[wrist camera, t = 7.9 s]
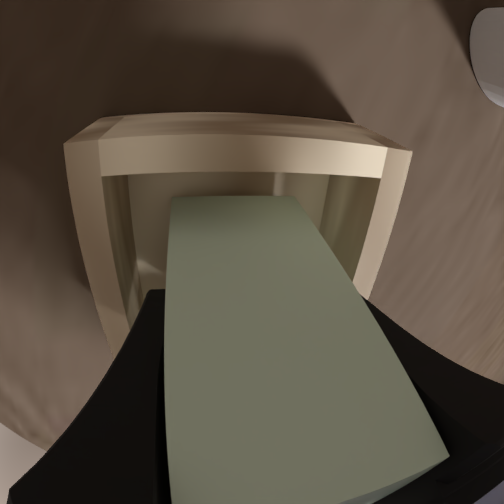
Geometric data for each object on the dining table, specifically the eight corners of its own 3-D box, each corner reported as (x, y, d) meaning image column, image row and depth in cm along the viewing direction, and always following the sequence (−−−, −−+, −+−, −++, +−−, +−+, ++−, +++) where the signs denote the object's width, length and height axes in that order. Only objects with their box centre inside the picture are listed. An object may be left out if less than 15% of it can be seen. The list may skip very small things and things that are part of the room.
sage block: (294, 195, 12) (449, 455, 4) (279, 288, 14) (359, 509, 6) (172, 197, 11) (174, 527, 3) (177, 293, 13) (197, 541, 5)
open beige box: (355, 123, 12) (412, 151, 9) (315, 307, 17) (341, 363, 14) (101, 117, 10) (63, 143, 7) (130, 318, 15) (123, 381, 12)
